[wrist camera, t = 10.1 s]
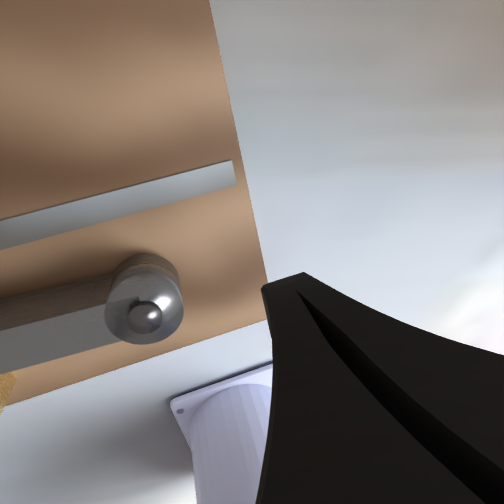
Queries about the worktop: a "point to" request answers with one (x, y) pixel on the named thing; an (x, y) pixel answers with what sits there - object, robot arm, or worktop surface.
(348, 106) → the worktop surface
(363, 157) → the worktop surface
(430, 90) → the worktop surface
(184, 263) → the latch board
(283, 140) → the worktop surface
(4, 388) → the light wood small block
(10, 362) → the swing bar
